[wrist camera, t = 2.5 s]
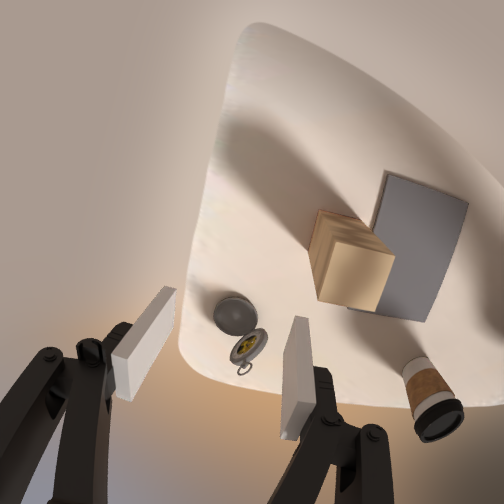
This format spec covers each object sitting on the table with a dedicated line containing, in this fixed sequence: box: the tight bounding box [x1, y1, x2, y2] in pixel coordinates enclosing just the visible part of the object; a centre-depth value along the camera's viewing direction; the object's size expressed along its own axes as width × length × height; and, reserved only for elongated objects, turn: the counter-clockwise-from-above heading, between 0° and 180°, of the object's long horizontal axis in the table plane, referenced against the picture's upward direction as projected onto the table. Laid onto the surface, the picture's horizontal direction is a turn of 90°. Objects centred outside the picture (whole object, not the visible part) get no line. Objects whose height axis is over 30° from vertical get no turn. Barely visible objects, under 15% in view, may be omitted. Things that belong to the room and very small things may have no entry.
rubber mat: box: [347, 174, 469, 323], centre depth 40 cm, size 14×20×1 cm
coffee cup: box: [402, 357, 464, 443], centre depth 40 cm, size 8×8×15 cm
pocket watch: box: [214, 297, 268, 376], centre depth 42 cm, size 8×8×10 cm
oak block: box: [308, 210, 395, 312], centre depth 34 cm, size 6×6×14 cm
